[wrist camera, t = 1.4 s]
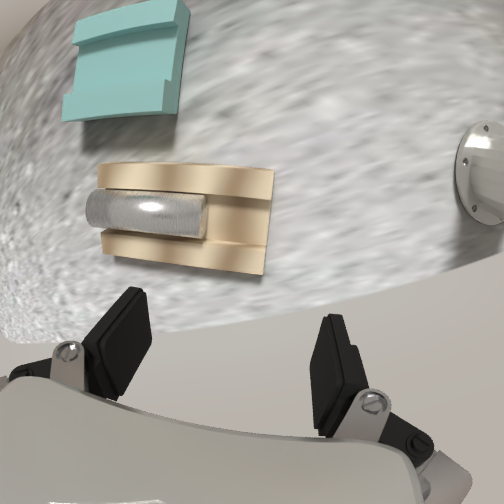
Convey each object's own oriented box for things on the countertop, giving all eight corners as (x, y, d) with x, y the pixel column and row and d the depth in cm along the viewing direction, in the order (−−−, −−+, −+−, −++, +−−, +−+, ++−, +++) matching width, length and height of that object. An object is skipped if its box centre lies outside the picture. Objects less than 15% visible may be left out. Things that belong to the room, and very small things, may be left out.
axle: (209, 195, 27) (199, 194, 23) (206, 235, 28) (195, 241, 24) (107, 189, 28) (86, 189, 24) (105, 224, 29) (85, 229, 25)
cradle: (190, 11, 20) (178, -4, 16) (177, 114, 25) (161, 110, 21) (96, 29, 21) (76, 21, 17) (83, 121, 25) (61, 121, 22)
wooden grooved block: (274, 169, 26) (274, 172, 24) (263, 265, 30) (262, 275, 28) (108, 162, 27) (97, 164, 25) (112, 246, 31) (103, 253, 29)
